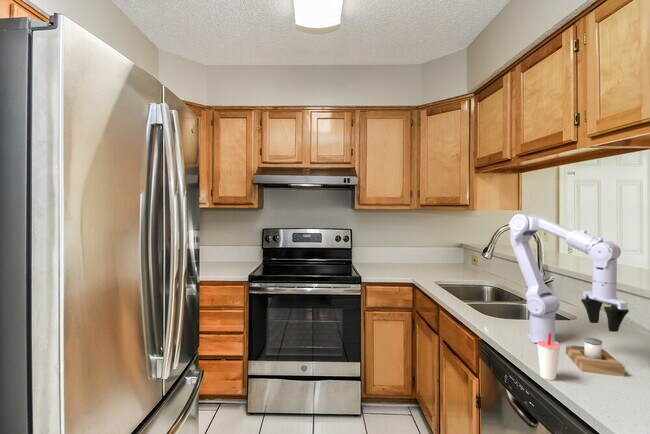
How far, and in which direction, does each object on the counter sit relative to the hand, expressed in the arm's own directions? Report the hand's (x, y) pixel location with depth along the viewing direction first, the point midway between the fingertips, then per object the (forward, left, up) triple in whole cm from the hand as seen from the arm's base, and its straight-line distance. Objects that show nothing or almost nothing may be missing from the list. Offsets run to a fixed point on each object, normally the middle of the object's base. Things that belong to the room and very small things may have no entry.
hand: (603, 326), depth 107 cm
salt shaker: (+5, -4, -10) cm, 12 cm away
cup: (+18, -19, -10) cm, 28 cm away
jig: (+5, -4, -10) cm, 12 cm away
